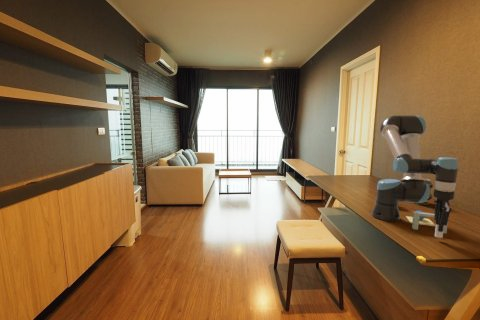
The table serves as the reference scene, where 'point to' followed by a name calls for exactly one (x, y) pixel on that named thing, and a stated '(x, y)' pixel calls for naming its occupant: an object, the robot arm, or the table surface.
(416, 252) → the table surface
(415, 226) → the bridge
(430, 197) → the apothecary jar
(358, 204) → the table surface
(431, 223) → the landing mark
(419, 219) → the ball
